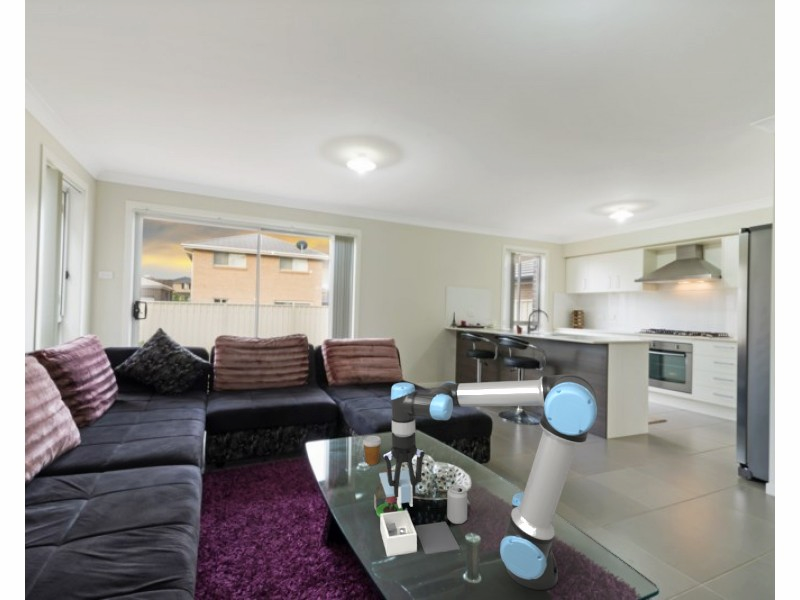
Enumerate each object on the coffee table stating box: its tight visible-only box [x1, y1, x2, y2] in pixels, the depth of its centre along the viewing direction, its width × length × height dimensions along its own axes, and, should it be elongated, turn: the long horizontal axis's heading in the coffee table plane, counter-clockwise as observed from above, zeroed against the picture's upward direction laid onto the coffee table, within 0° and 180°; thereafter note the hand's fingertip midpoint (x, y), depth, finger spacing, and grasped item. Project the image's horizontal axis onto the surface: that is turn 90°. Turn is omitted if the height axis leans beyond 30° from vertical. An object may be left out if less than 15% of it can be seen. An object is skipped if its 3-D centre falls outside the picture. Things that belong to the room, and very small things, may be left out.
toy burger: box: [373, 469, 404, 518], centre depth 149 cm, size 12×13×15 cm
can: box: [446, 484, 468, 525], centre depth 144 cm, size 8×8×12 cm
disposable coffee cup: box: [362, 435, 382, 466], centre depth 191 cm, size 10×10×12 cm
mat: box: [413, 521, 461, 556], centre depth 133 cm, size 15×12×1 cm
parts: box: [387, 523, 406, 537], centre depth 132 cm, size 10×6×3 cm, turn 12°
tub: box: [379, 510, 418, 558], centre depth 132 cm, size 14×10×6 cm
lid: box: [378, 469, 420, 504], centre depth 129 cm, size 20×11×5 cm, turn 12°
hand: (404, 504), depth 121 cm, fingers closed on lid, 3 cm apart
